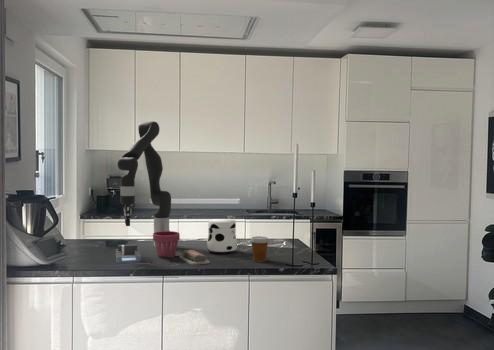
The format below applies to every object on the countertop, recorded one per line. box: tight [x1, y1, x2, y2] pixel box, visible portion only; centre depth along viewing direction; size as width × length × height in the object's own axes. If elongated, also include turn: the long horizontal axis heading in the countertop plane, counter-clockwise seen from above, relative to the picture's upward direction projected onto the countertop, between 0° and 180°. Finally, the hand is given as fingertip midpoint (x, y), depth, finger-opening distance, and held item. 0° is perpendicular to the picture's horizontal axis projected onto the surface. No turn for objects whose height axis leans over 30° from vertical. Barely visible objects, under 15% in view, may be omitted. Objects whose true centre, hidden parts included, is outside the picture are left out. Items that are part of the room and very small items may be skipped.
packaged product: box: [179, 249, 211, 266], centre depth 245 cm, size 18×5×10 cm
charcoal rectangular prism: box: [117, 244, 138, 256], centre depth 253 cm, size 10×3×5 cm, turn 107°
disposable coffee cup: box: [250, 235, 270, 263], centre depth 247 cm, size 10×10×12 cm
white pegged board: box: [115, 247, 142, 265], centre depth 247 cm, size 12×22×4 cm, turn 17°
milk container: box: [206, 218, 238, 254], centre depth 268 cm, size 17×17×18 cm
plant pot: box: [152, 230, 181, 259], centre depth 254 cm, size 14×14×13 cm
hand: (127, 224), depth 253 cm, fingers open, 8 cm apart
